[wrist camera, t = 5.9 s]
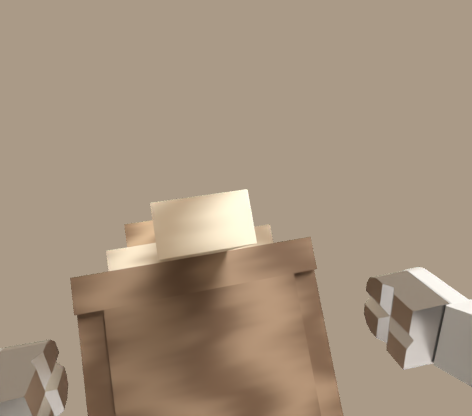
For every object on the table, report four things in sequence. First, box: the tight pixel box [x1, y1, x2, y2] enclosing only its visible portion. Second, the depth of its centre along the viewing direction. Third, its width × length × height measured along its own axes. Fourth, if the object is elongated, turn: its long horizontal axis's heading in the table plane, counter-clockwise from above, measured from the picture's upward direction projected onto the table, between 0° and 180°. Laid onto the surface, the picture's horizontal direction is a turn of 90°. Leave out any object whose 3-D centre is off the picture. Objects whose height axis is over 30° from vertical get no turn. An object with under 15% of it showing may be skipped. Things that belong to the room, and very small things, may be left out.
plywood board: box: [106, 189, 273, 271], centre depth 26 cm, size 12×28×4 cm, turn 10°
